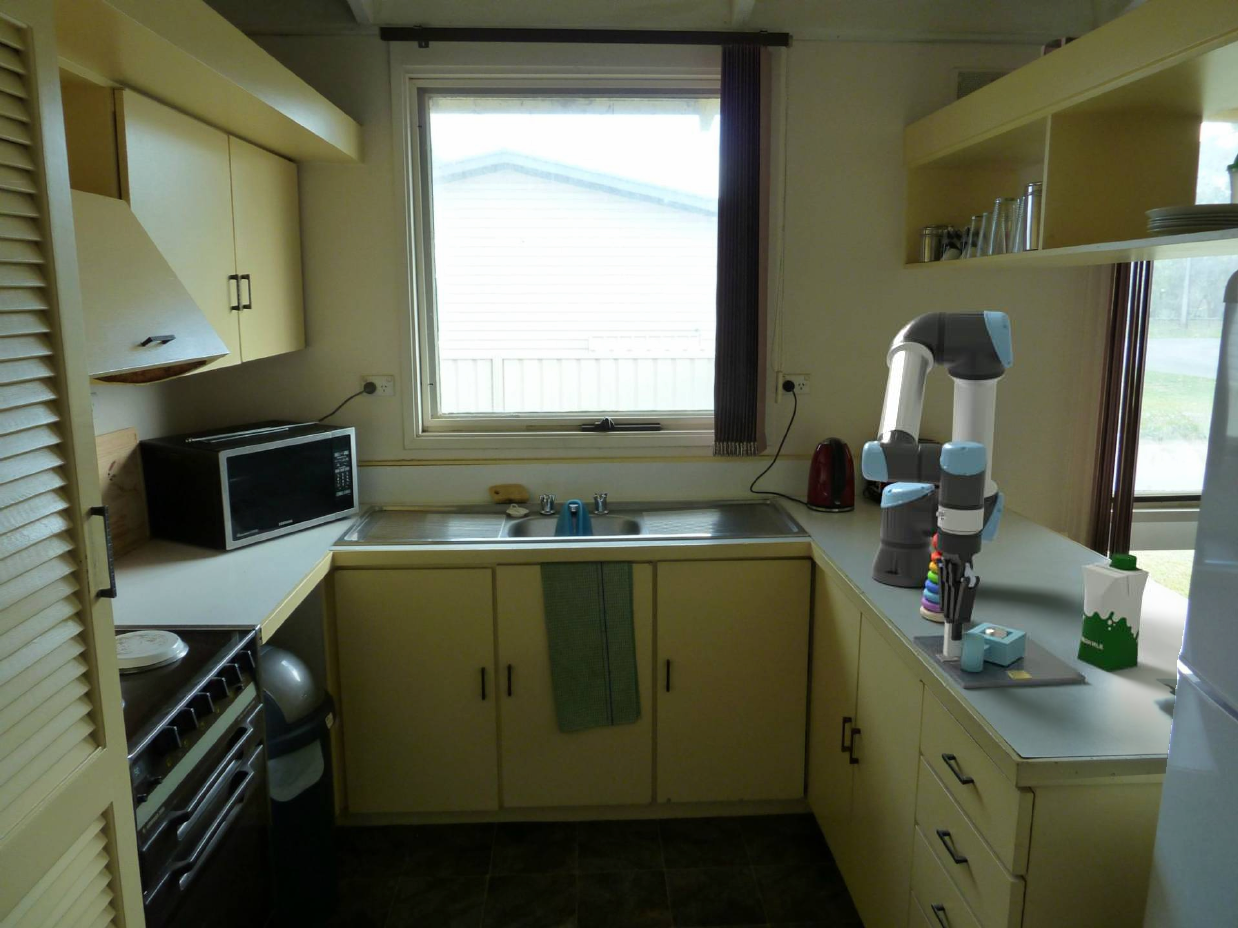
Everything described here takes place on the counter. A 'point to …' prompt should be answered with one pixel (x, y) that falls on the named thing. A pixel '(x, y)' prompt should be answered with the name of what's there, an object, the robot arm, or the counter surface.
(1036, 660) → the post plate
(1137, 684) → the counter surface
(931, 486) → the robot arm
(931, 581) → the stacking toy
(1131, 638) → the milk carton
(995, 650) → the blue handled square frame
